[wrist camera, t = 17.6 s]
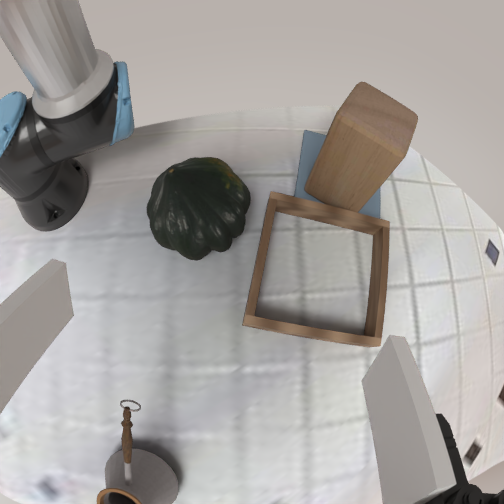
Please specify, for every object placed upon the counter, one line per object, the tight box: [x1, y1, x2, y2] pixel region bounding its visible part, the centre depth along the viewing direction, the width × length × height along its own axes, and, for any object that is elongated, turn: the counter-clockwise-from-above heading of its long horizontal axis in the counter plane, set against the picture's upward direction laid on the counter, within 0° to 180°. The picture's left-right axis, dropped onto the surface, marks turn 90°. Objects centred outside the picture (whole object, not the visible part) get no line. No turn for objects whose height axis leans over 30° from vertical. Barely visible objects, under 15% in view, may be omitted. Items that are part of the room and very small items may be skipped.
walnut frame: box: [242, 191, 390, 347], centre depth 46 cm, size 20×20×4 cm
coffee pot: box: [97, 400, 179, 504], centre depth 30 cm, size 21×12×15 cm, turn 169°
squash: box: [147, 157, 250, 260], centre depth 43 cm, size 14×15×15 cm
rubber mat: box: [294, 130, 380, 219], centre depth 54 cm, size 16×16×1 cm
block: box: [304, 82, 418, 213], centre depth 43 cm, size 10×10×20 cm
